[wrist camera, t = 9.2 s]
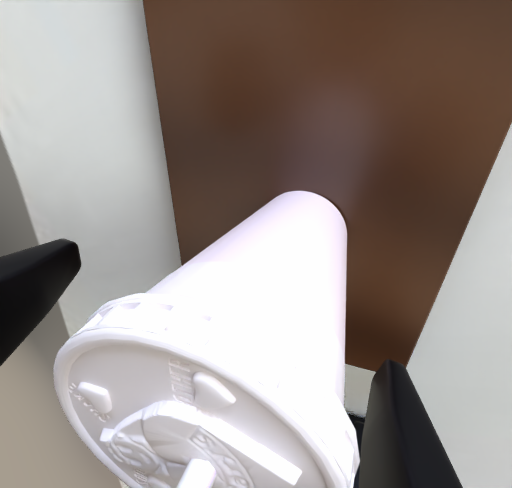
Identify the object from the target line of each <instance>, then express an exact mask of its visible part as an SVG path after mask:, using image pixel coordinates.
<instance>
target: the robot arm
mask: <svg viewBox="0 0 512 488" xmlns="http://www.w3.org/2000/svg"><path fill="white" fill-rule="evenodd" d="M80 267H81V259H80V254H79V249H78V245H77V244H76V243H75V242H72V241H70V240H67V239H58V240H55V241H52V242H48V243H45V244H42V245H39V246H35V247H32V248H29V249H25V250H22V251H19V252H16V253H13V254H9V255H6V256H2V257H0V366H1V365H2V364H3V363H4V361H6V359H7V358H8V357H9V356H10V355H11V354H12V353H13V352H14V350H15V349H16V348H17V347H18V346H19V345H20V344H21V343H22V342H23V341H24V339H25V338H26V337H27V336H28V335H29V334H30V333H31V332H32V331H33V329H34V328H35V327H36V326H37V325H38V324H39V323H40V322H41V321H42V319H43V318H44V317H45V316H46V315H47V313H48V312H49V311H50V310H51V309H52V307H53V306H54V304H55V303H56V302H57V301H58V299H59V298H60V296H61V295H62V294H63V292H64V291H65V290H66V288H67V287H68V285H69V284H70V283H71V281H72V280H73V279H74V277H75V276H76V275H77V273H78V272H79V270H80ZM347 415H348V414H347ZM348 417H349V418H350V420H351V422H352V424H353V426H354V428H355V430H356V437H357V444H358V451H359V457H360V463H359V466H358V469H357V472H356V475H355V478H354V484H353V488H463V487H462V485H461V483H460V481H459V479H458V477H457V475H456V472H455V470H454V468H453V466H452V464H451V462H450V460H449V458H448V456H447V454H446V452H445V449H444V447H443V445H442V443H441V441H440V439H439V437H438V435H437V433H436V431H435V429H434V426H433V424H432V422H431V420H430V418H429V416H428V414H427V412H426V410H425V408H424V406H423V403H422V401H421V399H420V397H419V395H418V393H417V391H416V389H415V387H414V385H413V383H412V380H411V378H410V376H409V374H408V372H407V370H406V368H405V366H404V365H403V364H401V363H399V362H396V361H394V360H391V359H386V360H385V361H384V362H383V364H382V365H381V367H380V368H379V369H378V371H377V372H376V373H375V375H374V377H373V379H372V383H371V389H370V394H369V400H368V406H367V412H366V417H365V419H361V418H358V417H355V416H351V415H348Z"/></svg>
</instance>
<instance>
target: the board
mask: <svg viewBox="0 0 512 488" xmlns="http://www.w3.org/2000/svg"><path fill="white" fill-rule="evenodd" d="M143 6H144V12H145V19H146V26H147V33H148V39H149V46H150V53H151V60H152V67H153V73H154V80H155V87H156V94H157V100H158V107H159V114H160V121H161V127H162V134H163V141H164V148H165V154H166V161H167V168H168V175H169V182H170V188H171V195H172V202H173V209H174V215H175V222H176V229H177V236H178V242H179V249H180V256H181V263H182V266H183V265H184V264H185V263H187V262H188V261H189V260H191V259H192V258H193V257H195V256H196V255H198V254H199V253H200V252H202V251H203V250H204V249H206V248H207V247H209V246H210V245H211V244H213V243H214V242H215V241H217V240H218V239H219V238H221V237H222V236H224V235H225V234H226V233H228V232H229V231H230V230H232V229H233V228H234V227H236V226H237V225H239V224H240V223H241V222H243V221H244V220H245V219H247V218H248V217H249V216H251V215H252V214H254V213H255V212H256V211H258V210H259V209H260V208H262V207H263V206H265V205H266V204H267V203H269V202H270V201H271V200H273V199H274V198H276V197H277V196H279V195H281V194H283V193H286V192H291V191H307V192H312V193H315V194H317V195H320V196H322V197H324V198H325V199H327V200H328V201H330V202H331V203H332V204H333V205H334V206H335V207H336V208H337V209H338V211H339V212H340V213H341V215H342V217H343V219H344V221H345V224H346V228H347V266H346V319H345V364H348V365H352V366H356V367H360V368H363V369H367V370H371V371H375V372H377V371H378V369H379V368H380V367H381V365H382V364H383V362H384V361H385V360H386V359H391V360H394V361H396V362H399V363H401V364H403V365H404V366H405V368H406V367H407V364H408V362H409V360H410V357H411V355H412V353H413V350H414V348H415V346H416V343H417V341H418V339H419V337H420V334H421V332H422V330H423V327H424V325H425V323H426V320H427V318H428V316H429V313H430V311H431V309H432V306H433V304H434V302H435V299H436V297H437V295H438V292H439V290H440V288H441V285H442V283H443V281H444V279H445V276H446V274H447V272H448V269H449V267H450V265H451V262H452V260H453V258H454V255H455V253H456V251H457V248H458V246H459V244H460V241H461V239H462V237H463V234H464V232H465V230H466V227H467V225H468V223H469V221H470V218H471V216H472V214H473V211H474V209H475V207H476V204H477V202H478V200H479V197H480V195H481V193H482V190H483V188H484V186H485V183H486V181H487V179H488V176H489V174H490V172H491V169H492V167H493V165H494V163H495V160H496V158H497V156H498V153H499V151H500V149H501V146H502V144H503V142H504V139H505V137H506V135H507V132H508V130H509V128H510V125H511V123H512V0H143Z"/></svg>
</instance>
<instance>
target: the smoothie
mask: <svg viewBox="0 0 512 488" xmlns="http://www.w3.org/2000/svg"><path fill="white" fill-rule="evenodd" d="M346 266H347V228H346V224H345V221H344V219H343V217H342V215H341V213H340V212H339V211H338V209H337V208H336V207H335V206H334V205H333V204H332V203H331V202H330V201H328V200H327V199H325V198H324V197H322V196H320V195H317V194H315V193H312V192H307V191H291V192H286V193H283V194H281V195H279V196H277V197H276V198H274V199H273V200H271V201H270V202H269V203H267V204H266V205H265V206H263V207H262V208H260V209H259V210H258V211H256V212H255V213H254V214H252V215H251V216H249V217H248V218H247V219H245V220H244V221H243V222H241V223H240V224H239V225H237V226H236V227H234V228H233V229H232V230H230V231H229V232H228V233H226V234H225V235H224V236H222V237H221V238H219V239H218V240H217V241H215V242H214V243H213V244H211V245H210V246H209V247H207V248H206V249H204V250H203V251H202V252H200V253H199V254H198V255H196V256H195V257H193V258H192V259H191V260H189V261H188V262H187V263H185V264H184V265H183V266H181V267H180V268H178V269H177V270H175V271H174V272H172V273H171V274H169V275H168V276H167V277H165V278H164V279H163V280H161V281H160V282H159V283H158V284H156V285H155V286H154V287H152V288H151V289H150V290H148V291H147V292H146V293H144V294H143V293H136V294H133V295H129V296H126V297H122V298H119V299H115V300H111V301H108V302H106V303H105V304H104V305H103V306H102V307H100V308H99V309H98V310H97V311H96V312H95V313H93V314H92V315H91V316H90V317H89V318H88V320H87V322H86V324H85V325H84V326H83V327H82V328H81V329H80V330H79V331H78V332H76V333H75V334H74V335H73V336H72V337H71V338H69V339H68V340H67V341H66V342H65V343H64V344H63V345H62V347H61V348H60V350H59V351H58V353H57V356H56V359H55V362H54V369H53V372H54V387H55V390H56V394H57V397H58V400H59V403H60V406H61V408H62V410H63V412H64V414H65V415H66V417H67V419H68V421H69V423H70V424H71V426H72V427H73V429H74V430H75V431H76V433H77V435H78V436H79V437H80V439H81V440H82V441H83V442H84V444H85V445H86V446H87V447H88V448H89V450H90V451H91V452H92V453H93V454H94V455H95V456H96V457H97V458H98V459H99V460H100V461H101V462H102V463H103V464H104V465H105V466H106V467H107V468H108V469H109V470H110V471H111V472H112V473H113V474H114V475H116V476H117V477H118V478H119V479H120V480H121V481H123V482H124V483H125V484H126V485H127V486H129V487H130V488H353V484H354V478H355V475H356V472H357V469H358V466H359V463H360V457H359V451H358V444H357V437H356V430H355V428H354V426H353V424H352V422H351V420H350V418H349V417H348V415H347V413H346V411H345V409H344V389H345V319H346Z"/></svg>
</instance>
